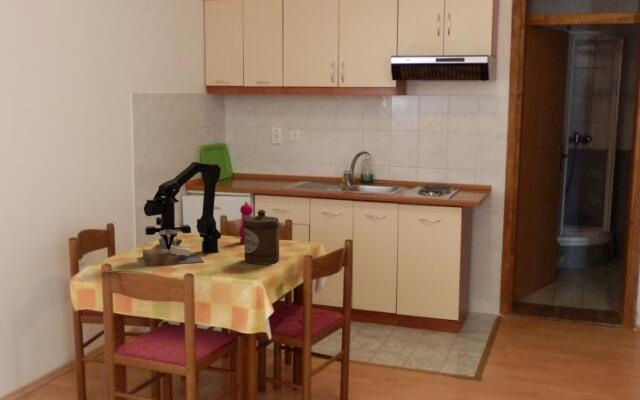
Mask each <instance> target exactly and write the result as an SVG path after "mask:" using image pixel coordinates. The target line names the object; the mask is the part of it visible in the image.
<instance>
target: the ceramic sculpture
mask: <svg viewBox="0 0 640 400" xmlns="http://www.w3.org/2000/svg"><path fill="white" fill-rule="evenodd" d="M166 234H167V238H168V243H169V232H166ZM158 242H159V246H160V247H161V249H167V247H166V244H165V241H164V239H163V237H162V236H160V238H159V239H158ZM182 242H183V240H182V238H178V235H177V236H175V237H174V239H173V241H172V244H171V245H174V246H179V245H180V244H181V243H182Z"/></svg>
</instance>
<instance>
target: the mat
mask: <svg viewBox="0 0 640 400" xmlns="http://www.w3.org/2000/svg"><path fill="white" fill-rule="evenodd" d="M177 255H178V258H179V265H185V264H187V265H188V264H202V263H205V261H204V260H203V259H202V257H201V256H200V255H199V253H190V256H187V255H179V254H177Z"/></svg>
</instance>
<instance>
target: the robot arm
mask: <svg viewBox="0 0 640 400" xmlns="http://www.w3.org/2000/svg"><path fill="white" fill-rule="evenodd" d="M221 172H222V170H221V167H220V165H219V164H214V163H208V162H207V163H202V162H198V161H193V162H191V163H190V165H188V166H187V167H186V168H185V169H183V170H182V171H181V172H180V173H179V174H177V175H176V176H175V177H174V178H172V179H170V180H166V181H165V182H163V183H161V184H160V185H159V186H158V190H156V193H155V195H154V196H153V198H152V199H147V200H146V203H145V204H144V205H143V206H144V207H143V213H144V214H145V216H146V217H154V216H158V217H155V222H156V224H155V225H150V226H145V228H144V230H145V231H144V233H145V235H146V236H152V235H155V234H156V233H158V235H159V237H163V239H164V241H165V244H166V247H167V250H170V247H171V244H172V241H173V239H174V237H175V236H177V237H178V232H182V234H191V233H192V227H191V225H189V224H180V225H179V226H176V220H175V219H176V218H175V213H176V212H175V209H176V208H175V203H179V202H180V201H179V200H178V199H177V197H176V196H177V195H178V194H179V193H180V191H181V188H182V187H183V186H185V184H186V183H188V182H189V181H190V180H191V179H193V178H194V177H195V176H196V175H197V174H198V173H201V178H202V180H203V183H204V185H203V188H204V189H203V199H202V200H203V201H202V215H201V216H200V218H196V219H197V220H196V227H195V228H196V230H197V233H198V234H199V236H200V237H199V238H202V240H201V250H202V252H203V253H204V254H208V253H210V254H211V253H219V252H220V251H219V240H220V239H221V237H222V233H221V232H220V231H219V230H218V229H217V221H216V219H215V217H214V214H215V213H214V211H215V198H216V186H217V185H216V184H217V183H218V181H219V180H220V177H221ZM159 216H160V217H159ZM156 226H159V227H156ZM166 232H169V243H168V238H167V234H166Z"/></svg>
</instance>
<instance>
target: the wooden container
mask: <svg viewBox="0 0 640 400" xmlns="http://www.w3.org/2000/svg"><path fill="white" fill-rule="evenodd" d="M265 214H266V210H264V209H259V210H258V211H257V216H252V217H248V218H245V219H244V226H245V241H244V242H245V243H244V244H243V246H244V248H243V249H244V261H245V263H248V264H252V265H271V264H275V263H276V264H277V263H278V262H279V261H280V231H279V230H280V229H279V227H280V226H279V225H280V221H279V217H278V218H277V217H275V216H267V215H265Z"/></svg>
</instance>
